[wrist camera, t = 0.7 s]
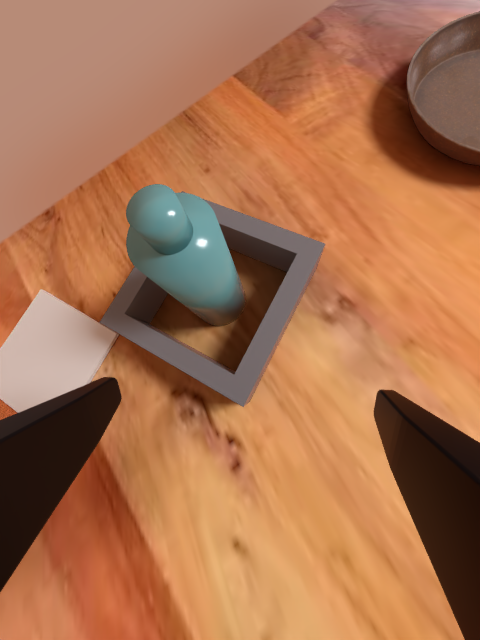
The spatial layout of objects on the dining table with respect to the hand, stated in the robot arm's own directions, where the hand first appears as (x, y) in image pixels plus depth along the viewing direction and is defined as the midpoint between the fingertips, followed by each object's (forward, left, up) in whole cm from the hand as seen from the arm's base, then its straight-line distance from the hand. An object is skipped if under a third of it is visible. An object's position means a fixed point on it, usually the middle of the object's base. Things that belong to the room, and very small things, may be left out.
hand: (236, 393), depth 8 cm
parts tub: (+5, +7, -13) cm, 15 cm away
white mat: (-8, +20, -13) cm, 25 cm away
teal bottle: (+5, +7, -13) cm, 15 cm away
